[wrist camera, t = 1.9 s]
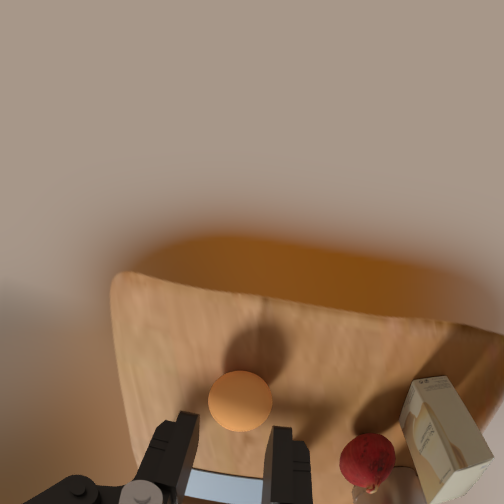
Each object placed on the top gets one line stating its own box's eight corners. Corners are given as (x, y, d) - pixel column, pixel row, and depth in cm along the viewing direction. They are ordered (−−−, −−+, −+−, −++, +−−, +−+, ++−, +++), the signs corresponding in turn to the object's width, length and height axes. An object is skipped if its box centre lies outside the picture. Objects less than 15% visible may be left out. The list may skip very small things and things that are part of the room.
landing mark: (181, 466, 33) (181, 467, 33) (276, 480, 32) (276, 481, 32) (184, 504, 36) (183, 505, 36) (262, 516, 36) (262, 517, 35)
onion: (353, 414, 28) (367, 473, 21) (396, 421, 29) (415, 475, 21) (327, 447, 30) (333, 503, 22) (368, 453, 30) (381, 505, 22)
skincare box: (411, 378, 27) (456, 469, 15) (446, 373, 27) (498, 454, 15) (396, 422, 29) (426, 509, 17) (429, 417, 28) (465, 497, 17)
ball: (284, 373, 27) (284, 415, 22) (255, 410, 29) (251, 451, 24) (229, 349, 27) (219, 388, 22) (205, 388, 29) (192, 428, 23)
